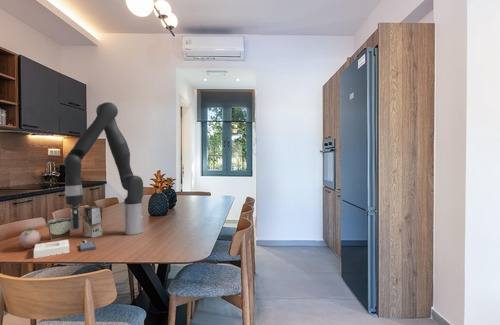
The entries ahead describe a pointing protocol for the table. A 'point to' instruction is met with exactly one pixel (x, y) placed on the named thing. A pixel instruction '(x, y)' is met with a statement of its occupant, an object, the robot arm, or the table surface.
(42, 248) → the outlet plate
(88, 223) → the coffee box
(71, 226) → the charger
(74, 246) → the table surface
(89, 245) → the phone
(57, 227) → the food container
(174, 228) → the table surface
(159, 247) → the table surface
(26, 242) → the decorative fruit
